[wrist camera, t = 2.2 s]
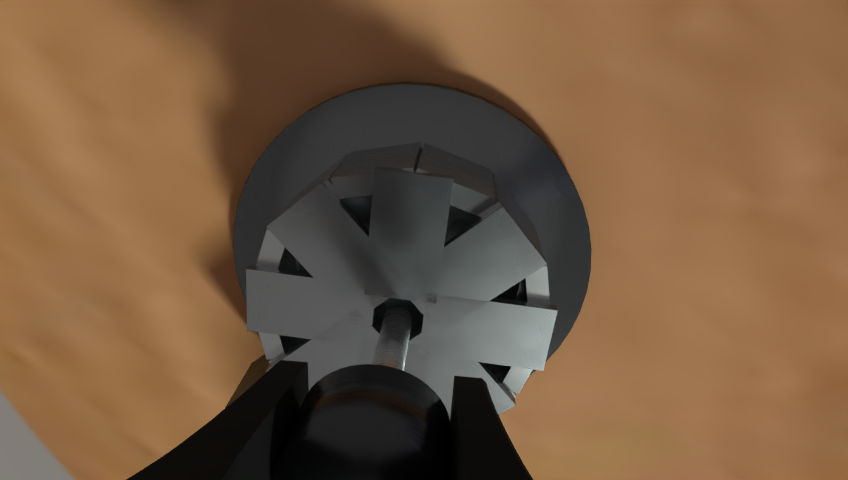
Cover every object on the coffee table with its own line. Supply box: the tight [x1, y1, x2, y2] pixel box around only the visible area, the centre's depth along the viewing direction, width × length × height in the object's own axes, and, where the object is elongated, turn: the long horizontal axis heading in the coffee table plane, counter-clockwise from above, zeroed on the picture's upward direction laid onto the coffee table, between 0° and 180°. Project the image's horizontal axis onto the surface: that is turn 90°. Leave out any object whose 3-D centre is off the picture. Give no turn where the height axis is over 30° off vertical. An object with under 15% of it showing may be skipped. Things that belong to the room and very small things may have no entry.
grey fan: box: [225, 82, 591, 418], centre depth 18 cm, size 13×12×4 cm
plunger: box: [273, 307, 451, 480], centre depth 13 cm, size 3×3×6 cm
